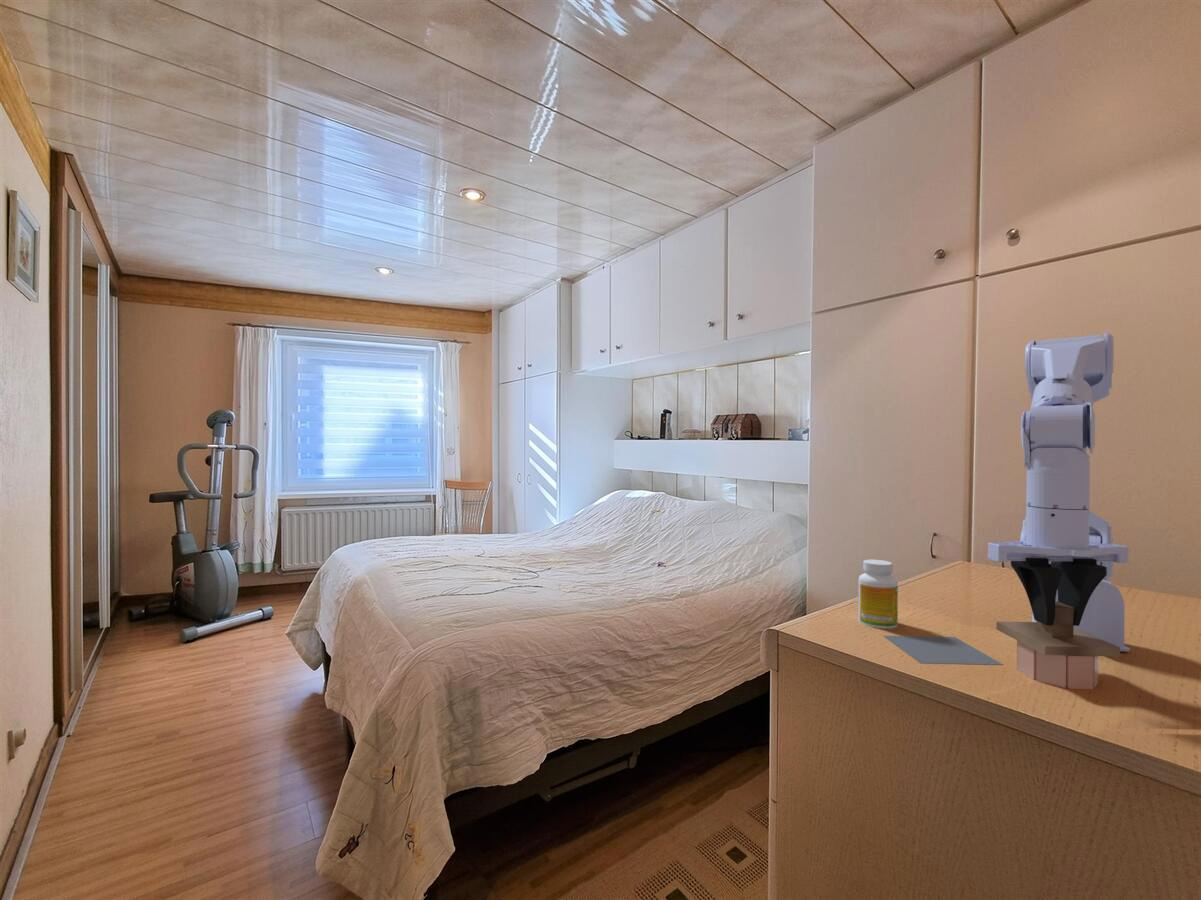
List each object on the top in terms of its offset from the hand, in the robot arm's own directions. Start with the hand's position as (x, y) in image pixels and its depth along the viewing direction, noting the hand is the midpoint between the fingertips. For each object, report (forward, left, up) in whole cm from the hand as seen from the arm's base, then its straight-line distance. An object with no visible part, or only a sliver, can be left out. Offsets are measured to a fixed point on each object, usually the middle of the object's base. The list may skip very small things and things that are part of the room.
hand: (1056, 622), depth 64 cm
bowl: (0, 0, -7) cm, 7 cm away
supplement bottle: (+12, -19, -7) cm, 23 cm away
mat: (+9, -8, -7) cm, 14 cm away
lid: (0, 0, -2) cm, 2 cm away
